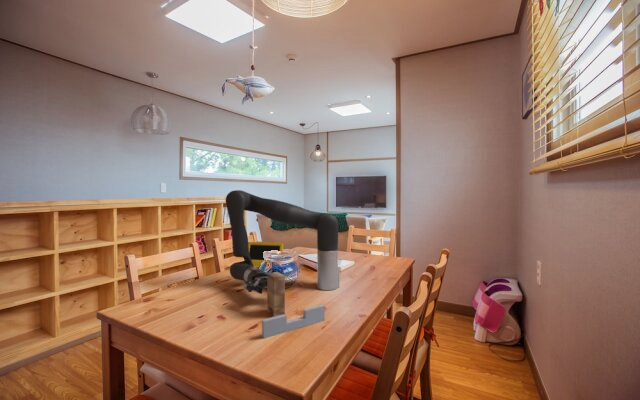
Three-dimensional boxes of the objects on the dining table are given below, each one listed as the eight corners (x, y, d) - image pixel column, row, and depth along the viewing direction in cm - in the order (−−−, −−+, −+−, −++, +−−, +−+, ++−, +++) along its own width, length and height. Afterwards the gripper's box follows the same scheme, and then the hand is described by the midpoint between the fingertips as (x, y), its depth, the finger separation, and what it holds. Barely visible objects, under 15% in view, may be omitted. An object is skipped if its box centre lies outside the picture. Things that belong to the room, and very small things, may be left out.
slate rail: (321, 318, 104) (321, 304, 104) (324, 320, 102) (324, 305, 102) (262, 336, 91) (261, 319, 91) (264, 338, 90) (264, 321, 90)
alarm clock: (244, 271, 163) (244, 242, 163) (250, 267, 171) (250, 240, 170) (280, 273, 160) (280, 243, 159) (284, 269, 167) (284, 241, 167)
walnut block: (277, 309, 112) (277, 271, 112) (284, 314, 107) (284, 275, 107) (267, 311, 110) (267, 273, 109) (274, 317, 105) (274, 277, 104)
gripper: (238, 271, 120) (253, 282, 106) (271, 266, 128) (289, 275, 114) (238, 290, 120) (254, 303, 107) (271, 284, 128) (289, 295, 115)
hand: (272, 288), depth 111 cm, fingers open, 8 cm apart
